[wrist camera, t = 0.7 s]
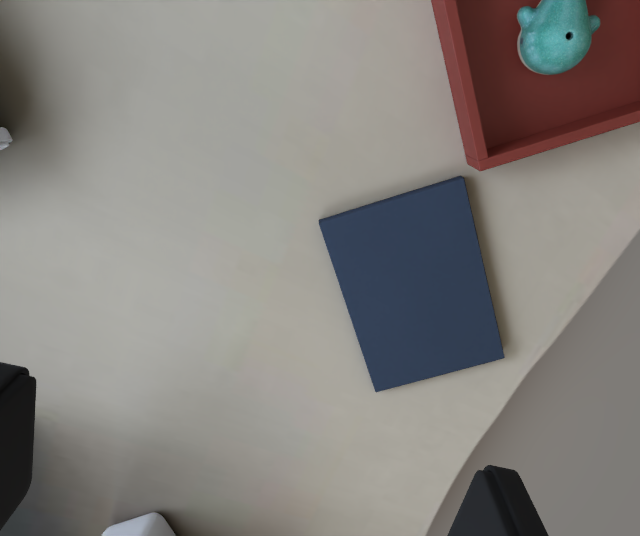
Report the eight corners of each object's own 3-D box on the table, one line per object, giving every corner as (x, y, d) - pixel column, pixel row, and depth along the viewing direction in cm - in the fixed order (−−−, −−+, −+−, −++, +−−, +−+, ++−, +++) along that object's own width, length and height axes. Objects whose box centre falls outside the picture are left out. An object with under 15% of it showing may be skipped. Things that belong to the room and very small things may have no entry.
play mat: (318, 219, 42) (318, 222, 41) (460, 175, 40) (463, 177, 39) (374, 386, 47) (375, 392, 46) (501, 352, 46) (504, 358, 45)
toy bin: (416, -68, 34) (425, -84, 31) (649, -155, 32) (685, -182, 29) (467, 164, 40) (480, 171, 36) (670, 100, 38) (702, 102, 35)
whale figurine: (497, 68, 37) (515, 66, 33) (526, -45, 34) (549, -60, 31) (573, 80, 37) (600, 80, 34) (607, -31, 35) (640, -44, 31)
